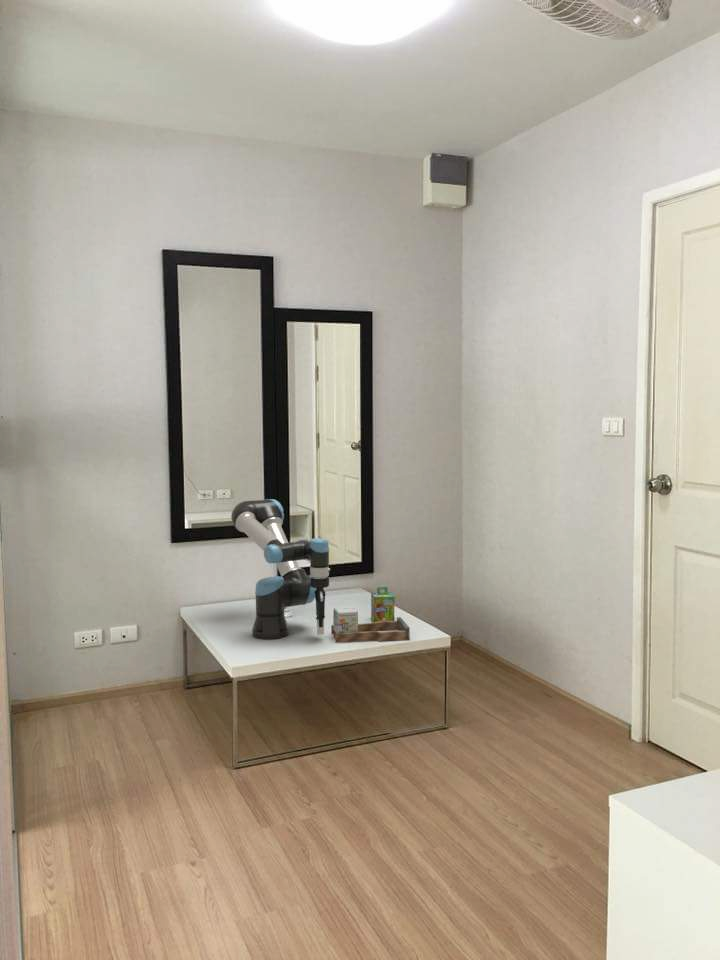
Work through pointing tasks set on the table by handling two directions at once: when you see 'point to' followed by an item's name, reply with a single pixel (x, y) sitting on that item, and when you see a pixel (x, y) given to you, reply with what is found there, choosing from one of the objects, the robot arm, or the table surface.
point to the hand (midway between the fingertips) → (320, 634)
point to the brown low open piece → (370, 632)
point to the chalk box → (382, 606)
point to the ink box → (345, 620)
